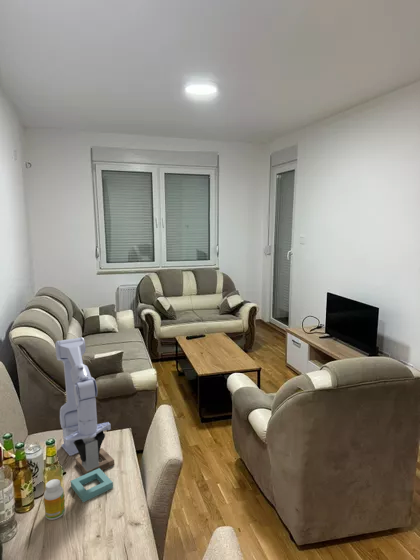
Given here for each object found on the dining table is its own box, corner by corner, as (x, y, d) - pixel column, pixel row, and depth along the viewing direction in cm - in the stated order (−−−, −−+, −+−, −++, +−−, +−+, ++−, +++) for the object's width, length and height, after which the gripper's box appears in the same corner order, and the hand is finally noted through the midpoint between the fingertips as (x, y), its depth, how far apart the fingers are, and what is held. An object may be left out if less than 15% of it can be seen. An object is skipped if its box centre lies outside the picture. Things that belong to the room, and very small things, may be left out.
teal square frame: (70, 486, 124) (70, 480, 123) (99, 473, 130) (99, 468, 130) (83, 502, 116) (82, 496, 116) (113, 487, 123) (112, 482, 122)
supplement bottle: (65, 517, 110) (62, 486, 109) (45, 522, 108) (42, 491, 107) (65, 505, 115) (62, 475, 114) (45, 510, 113) (43, 480, 112)
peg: (82, 465, 122) (80, 439, 121) (93, 460, 125) (92, 434, 124) (87, 471, 119) (85, 444, 118) (99, 465, 122) (97, 439, 121)
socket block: (76, 463, 136) (75, 458, 136) (102, 453, 142) (102, 448, 142) (87, 477, 128) (87, 471, 128) (114, 464, 135) (114, 459, 135)
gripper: (69, 430, 113) (72, 472, 114) (114, 414, 122) (116, 453, 124) (60, 421, 118) (63, 462, 120) (104, 407, 127) (106, 444, 129)
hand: (89, 457), depth 122 cm, fingers closed on peg, 4 cm apart
